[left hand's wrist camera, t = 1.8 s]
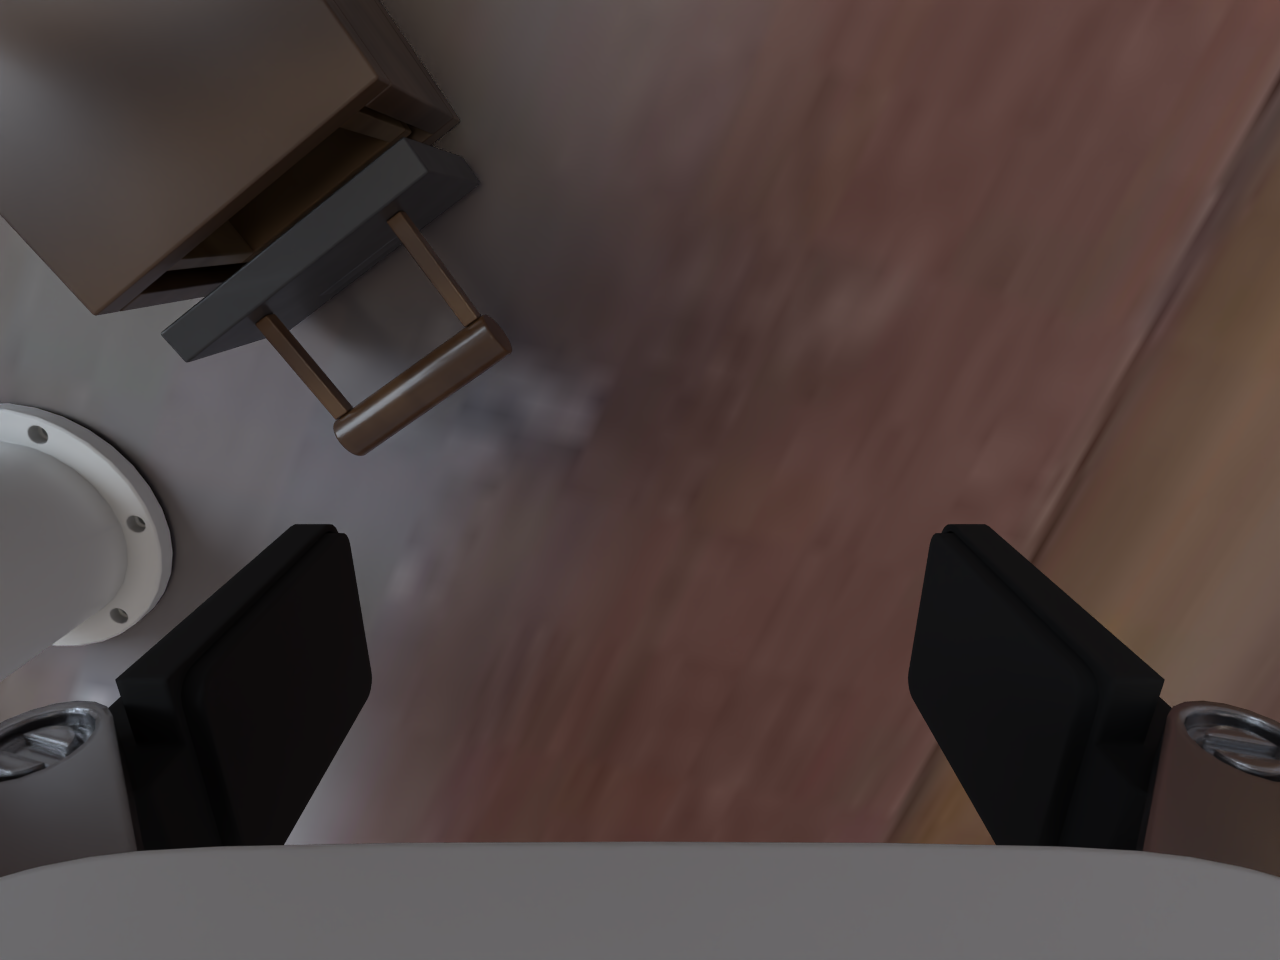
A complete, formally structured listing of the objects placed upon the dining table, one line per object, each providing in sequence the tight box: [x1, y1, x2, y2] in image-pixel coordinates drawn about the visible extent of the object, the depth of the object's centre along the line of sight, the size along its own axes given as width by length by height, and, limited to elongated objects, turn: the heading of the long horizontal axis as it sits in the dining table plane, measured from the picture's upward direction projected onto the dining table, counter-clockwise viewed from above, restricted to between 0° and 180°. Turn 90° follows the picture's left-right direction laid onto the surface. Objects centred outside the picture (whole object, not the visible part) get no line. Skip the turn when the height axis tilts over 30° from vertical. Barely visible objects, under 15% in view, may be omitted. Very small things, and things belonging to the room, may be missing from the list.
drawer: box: [161, 106, 512, 456], centre depth 24 cm, size 22×11×7 cm, turn 34°
